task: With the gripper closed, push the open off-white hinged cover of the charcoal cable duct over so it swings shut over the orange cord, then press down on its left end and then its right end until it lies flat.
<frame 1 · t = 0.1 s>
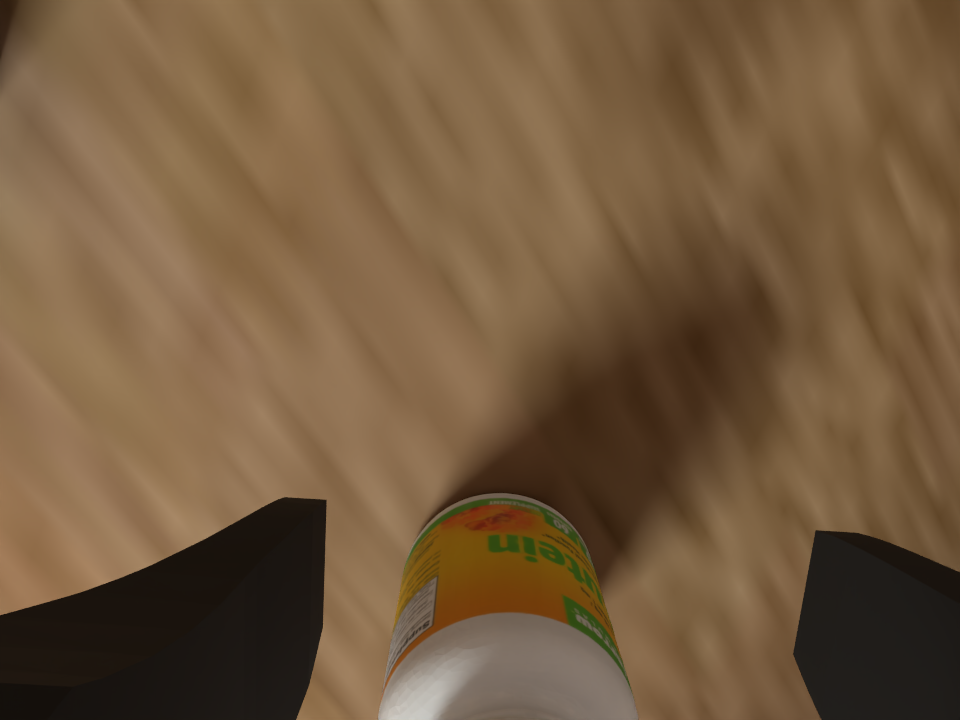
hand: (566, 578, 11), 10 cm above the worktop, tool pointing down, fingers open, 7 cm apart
supplement bottle: (497, 572, 23), on the worktop
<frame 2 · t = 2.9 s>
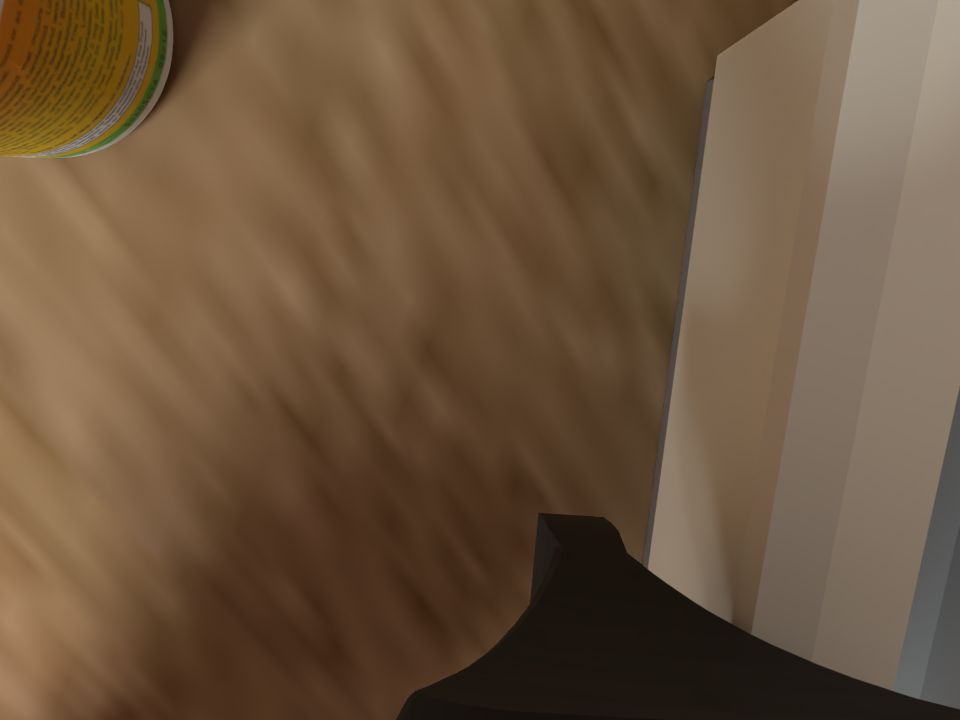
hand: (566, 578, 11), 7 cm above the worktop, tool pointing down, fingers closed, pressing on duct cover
supplement bottle: (57, 29, 17), on the worktop
cable duct: (810, 521, 19), on the worktop
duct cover: (690, 703, 12), point 7 cm above the worktop, hinge at 94.2°, touching gripper
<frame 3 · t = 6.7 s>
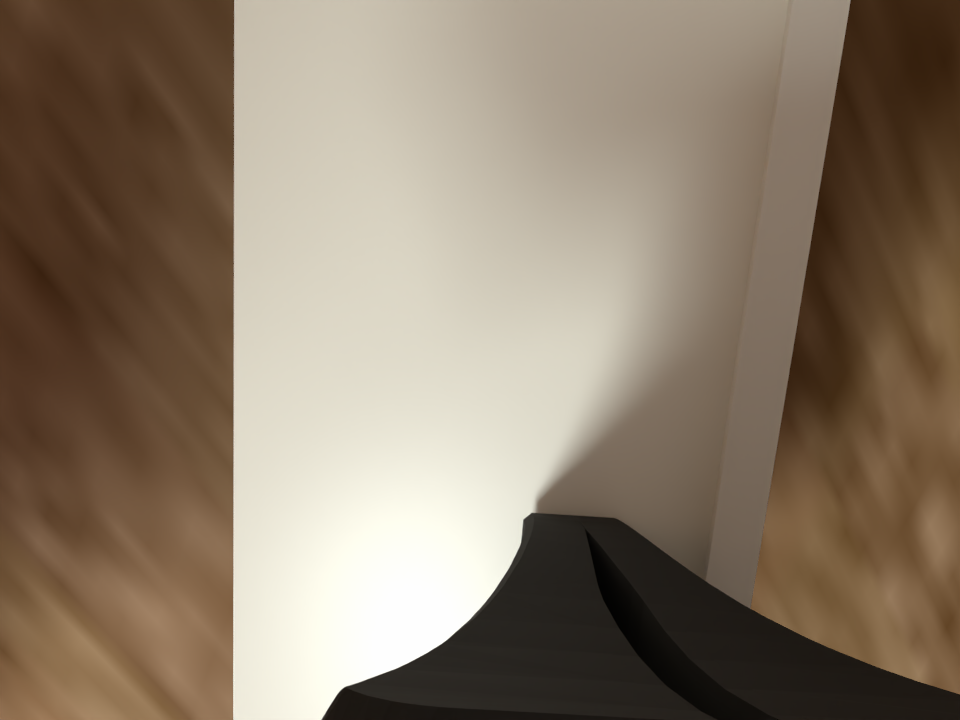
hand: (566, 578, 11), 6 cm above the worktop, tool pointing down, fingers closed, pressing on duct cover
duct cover: (500, 147, 11), point 5 cm above the worktop, hinge at 16.0°, touching gripper
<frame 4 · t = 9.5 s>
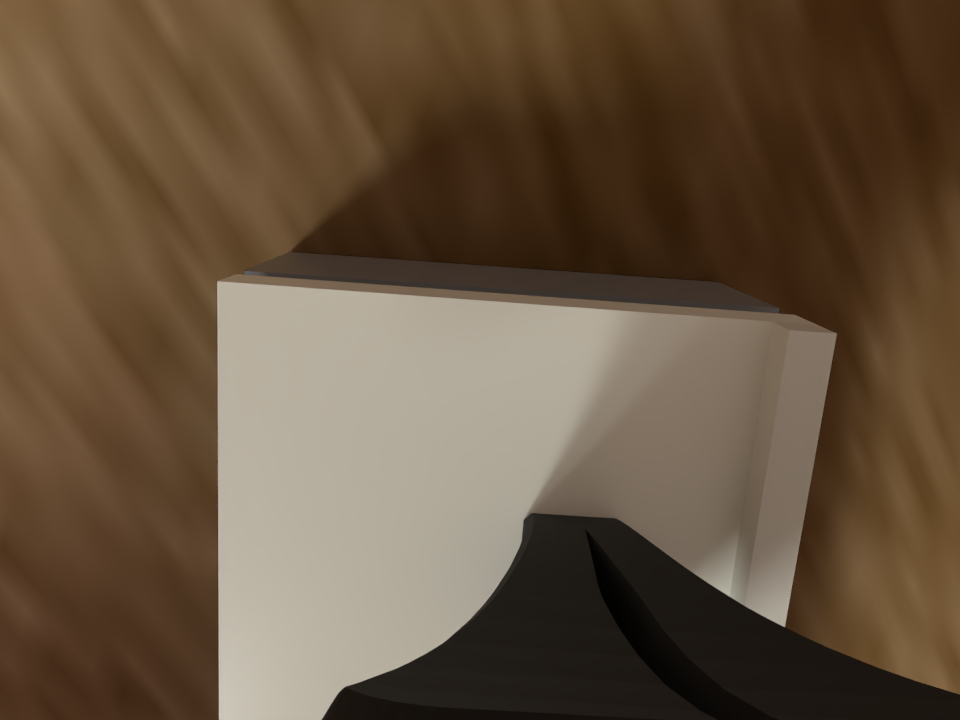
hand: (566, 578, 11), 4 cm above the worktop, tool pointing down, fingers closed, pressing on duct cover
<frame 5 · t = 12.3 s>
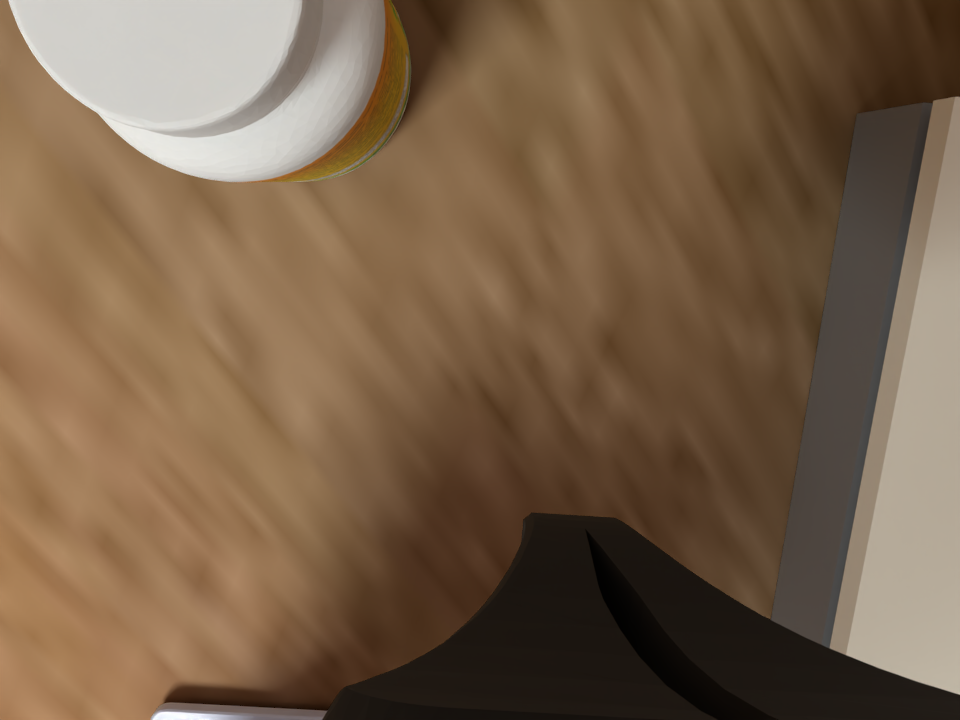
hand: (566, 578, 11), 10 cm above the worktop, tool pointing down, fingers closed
supplement bottle: (307, 72, 20), on the worktop
cable duct: (932, 490, 22), on the worktop
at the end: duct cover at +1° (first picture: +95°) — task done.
